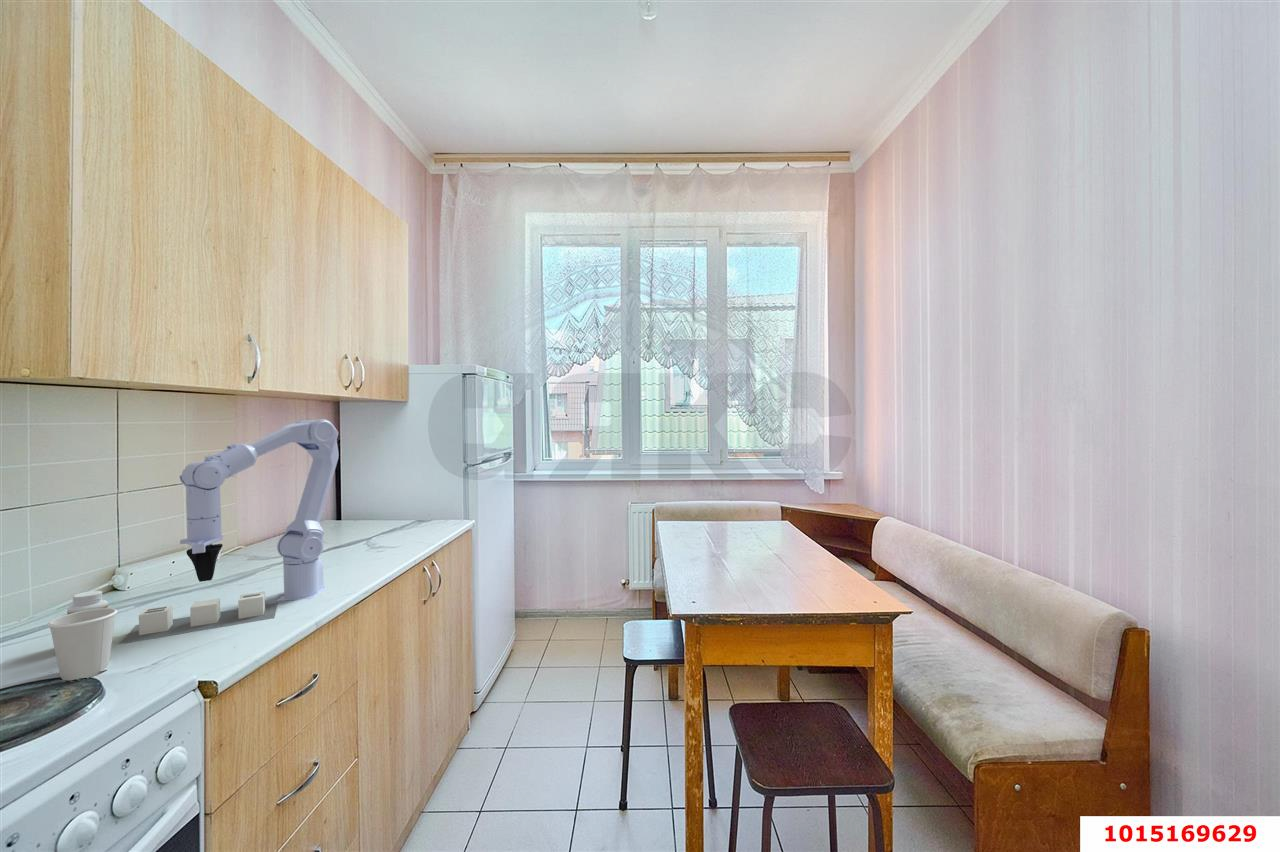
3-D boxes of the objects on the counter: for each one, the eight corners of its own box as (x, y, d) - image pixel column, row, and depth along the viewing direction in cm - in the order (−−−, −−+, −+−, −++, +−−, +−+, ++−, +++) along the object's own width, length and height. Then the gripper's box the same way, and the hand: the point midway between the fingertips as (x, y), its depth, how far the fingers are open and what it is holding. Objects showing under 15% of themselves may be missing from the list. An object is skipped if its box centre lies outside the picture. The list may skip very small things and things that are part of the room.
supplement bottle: (63, 654, 101) (62, 600, 101) (73, 644, 106) (72, 592, 106) (104, 647, 104) (103, 594, 104) (112, 637, 109) (111, 587, 109)
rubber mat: (278, 605, 127) (277, 602, 127) (274, 620, 116) (274, 617, 116) (136, 627, 114) (136, 625, 114) (118, 647, 104) (118, 644, 104)
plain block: (194, 620, 116) (194, 601, 116) (220, 616, 118) (220, 598, 118) (190, 626, 112) (190, 607, 112) (217, 622, 114) (216, 603, 114)
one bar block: (241, 613, 120) (240, 594, 120) (265, 609, 122) (264, 591, 122) (238, 618, 116) (238, 600, 116) (263, 614, 119) (262, 596, 119)
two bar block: (145, 628, 112) (144, 608, 112) (172, 623, 114) (172, 604, 114) (139, 635, 108) (138, 614, 108) (167, 630, 110) (167, 610, 110)
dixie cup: (91, 662, 97) (90, 607, 97) (132, 663, 96) (130, 608, 96) (34, 684, 89) (32, 624, 89) (78, 686, 88) (76, 625, 88)
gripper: (187, 514, 119) (188, 575, 120) (171, 524, 107) (173, 592, 107) (226, 511, 123) (228, 570, 123) (216, 520, 111) (218, 586, 111)
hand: (205, 580), depth 115 cm, fingers closed
